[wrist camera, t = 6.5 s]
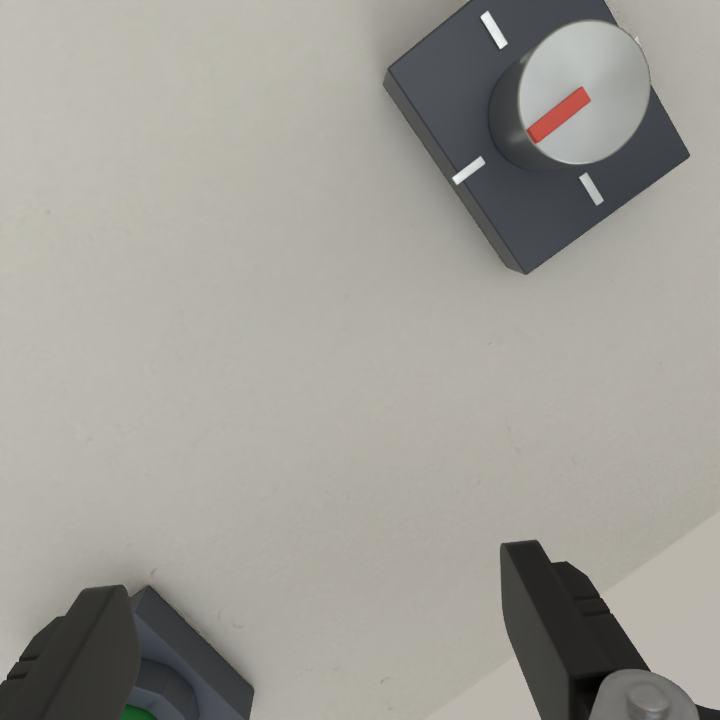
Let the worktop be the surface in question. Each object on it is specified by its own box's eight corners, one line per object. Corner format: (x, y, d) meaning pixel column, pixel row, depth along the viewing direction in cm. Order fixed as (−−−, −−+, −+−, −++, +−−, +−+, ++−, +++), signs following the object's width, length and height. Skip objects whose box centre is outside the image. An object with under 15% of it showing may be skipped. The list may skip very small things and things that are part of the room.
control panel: (659, 157, 26) (700, 151, 23) (501, 272, 27) (521, 280, 24) (542, -47, 24) (571, -84, 21) (376, 88, 25) (380, 72, 22)
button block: (255, 690, 33) (243, 753, 29) (151, 757, 34) (127, 828, 30) (148, 584, 31) (120, 638, 27) (42, 660, 32) (1, 721, 28)
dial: (560, 25, 22) (611, -18, 18) (620, 123, 23) (681, 105, 19) (465, 102, 22) (493, 78, 18) (528, 194, 23) (567, 192, 19)
